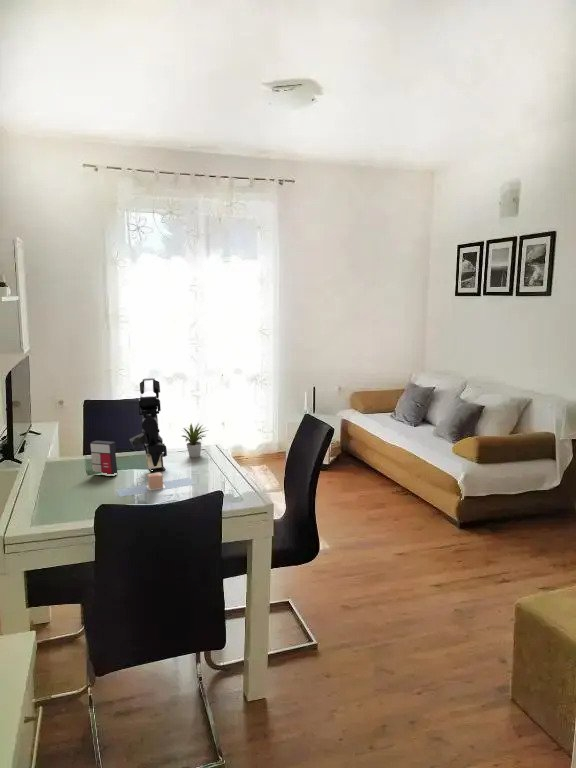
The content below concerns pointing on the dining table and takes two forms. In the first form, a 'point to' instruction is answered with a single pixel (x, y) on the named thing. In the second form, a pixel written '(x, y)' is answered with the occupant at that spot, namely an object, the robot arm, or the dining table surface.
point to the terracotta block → (155, 480)
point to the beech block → (150, 463)
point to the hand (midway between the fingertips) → (154, 464)
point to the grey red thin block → (103, 456)
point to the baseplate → (146, 489)
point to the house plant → (194, 441)
